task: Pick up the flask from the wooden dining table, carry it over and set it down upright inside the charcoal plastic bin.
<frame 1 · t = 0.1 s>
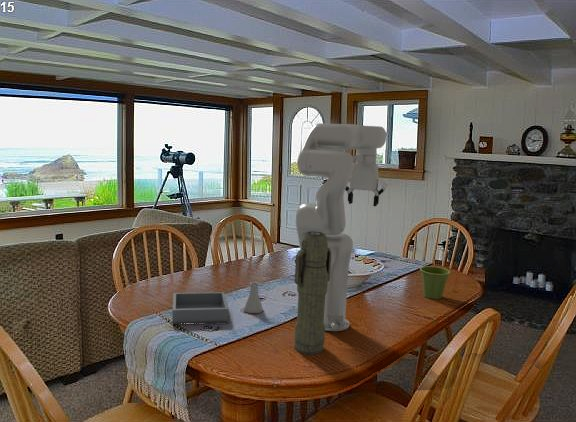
hand: (362, 204, 200), 37 cm above the table, tool pointing down, fingers open, 9 cm apart
flask: (253, 311, 186), on the table
grey stone statue: (308, 348, 156), on the table
bin: (199, 314, 179), on the table
plant pot: (432, 297, 212), on the table
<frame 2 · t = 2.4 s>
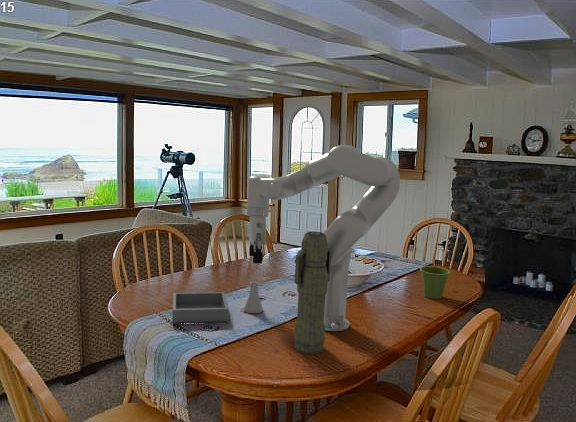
hand: (255, 259, 184), 19 cm above the table, tool pointing down, fingers open, 9 cm apart
nothing on the table moved.
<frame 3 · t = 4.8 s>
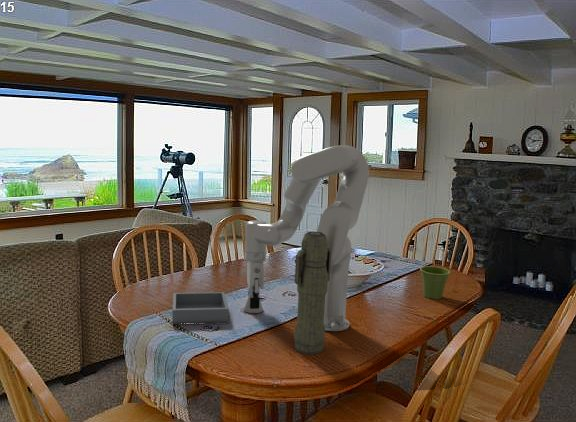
hand: (253, 305, 186), 2 cm above the table, tool pointing down, fingers closed on flask, 4 cm apart
flask: (253, 311, 186), on the table, touching gripper
everything else where it was.
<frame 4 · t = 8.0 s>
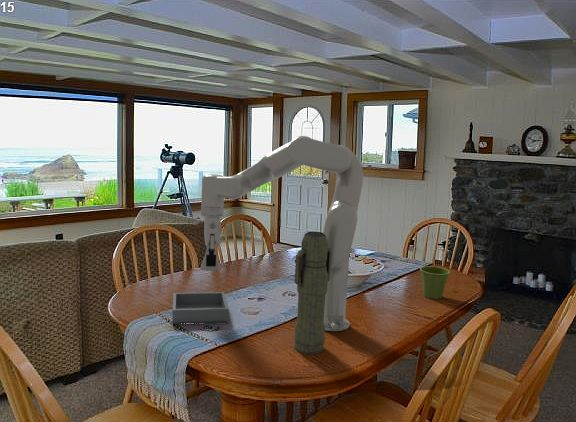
hand: (210, 263, 178), 18 cm above the table, tool pointing down, fingers closed on flask, 4 cm apart
flask: (210, 269, 178), point 16 cm above the table, touching gripper
everything else where it was.
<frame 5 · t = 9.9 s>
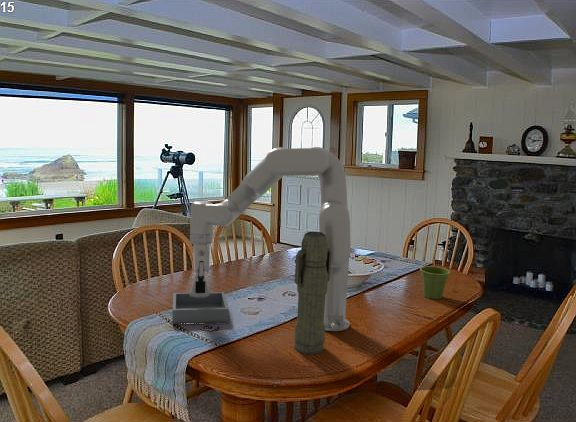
hand: (199, 289, 178), 9 cm above the table, tool pointing down, fingers closed on flask, 4 cm apart
flask: (199, 295, 178), point 7 cm above the table, touching gripper
everything else where it was.
when the fingers open (5 cm above the table, at t = 11.5 s): flask drops 2 cm, resting on bin.
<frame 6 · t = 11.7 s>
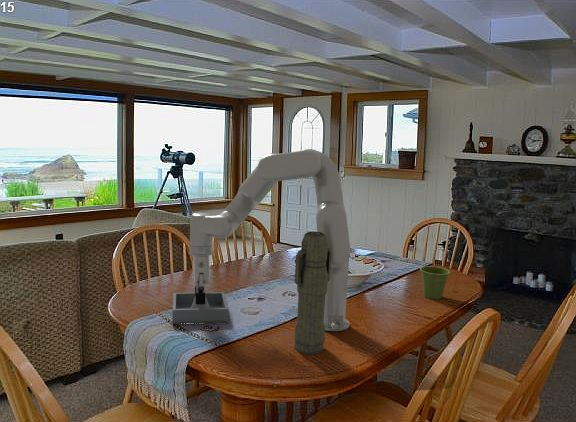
hand: (199, 300, 179), 5 cm above the table, tool pointing down, fingers open, 6 cm apart
flask: (200, 312, 179), point 1 cm above the table, touching bin
everything else where it was.
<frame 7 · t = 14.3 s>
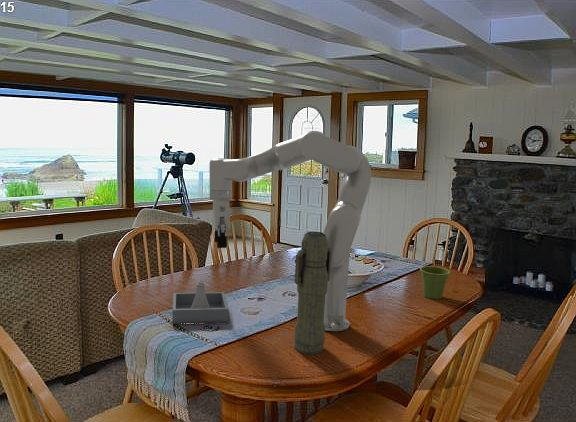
hand: (220, 244, 179), 24 cm above the table, tool pointing down, fingers open, 9 cm apart
nothing on the table moved.
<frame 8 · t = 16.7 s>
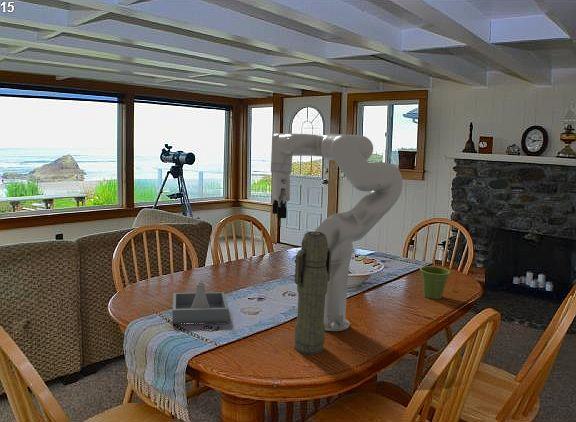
hand: (279, 215, 189), 33 cm above the table, tool pointing down, fingers open, 9 cm apart
nothing on the table moved.
at the end: flask inside the target area on the bin (0.2 cm from its centre), point 0.8 cm above the bin's base; flask tilted 0°; the gripper is holding nothing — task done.
